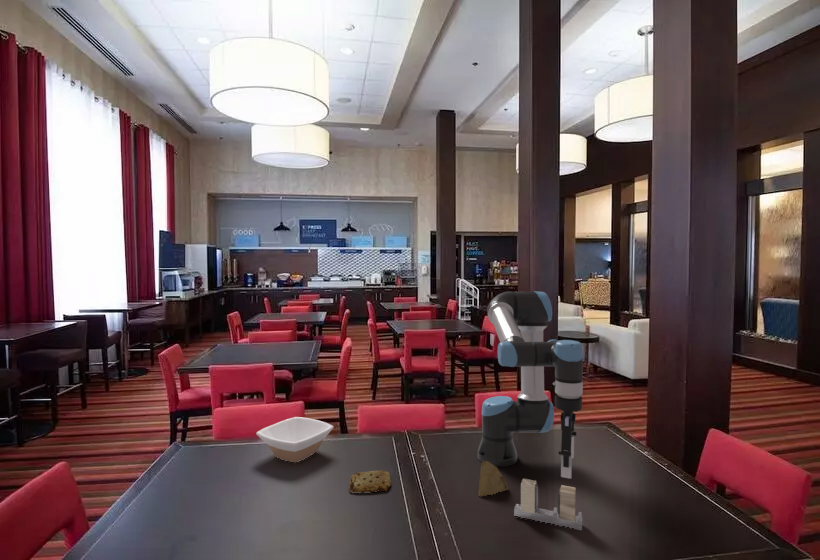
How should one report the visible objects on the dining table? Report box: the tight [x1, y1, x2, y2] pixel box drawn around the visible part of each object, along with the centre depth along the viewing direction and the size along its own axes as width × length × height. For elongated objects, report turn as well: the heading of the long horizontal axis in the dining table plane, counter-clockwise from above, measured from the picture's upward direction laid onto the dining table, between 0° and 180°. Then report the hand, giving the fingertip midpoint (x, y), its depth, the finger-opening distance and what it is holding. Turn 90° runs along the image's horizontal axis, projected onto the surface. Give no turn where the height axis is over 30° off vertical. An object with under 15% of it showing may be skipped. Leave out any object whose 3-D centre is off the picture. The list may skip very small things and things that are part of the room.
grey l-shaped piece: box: [513, 478, 583, 531], centre depth 135 cm, size 19×4×10 cm, turn 68°
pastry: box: [348, 470, 392, 492], centre depth 159 cm, size 17×17×3 cm
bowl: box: [256, 416, 334, 462], centre depth 182 cm, size 24×25×11 cm
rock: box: [477, 461, 509, 498], centre depth 152 cm, size 11×9×10 cm
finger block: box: [557, 484, 577, 521], centre depth 133 cm, size 4×4×8 cm
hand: (567, 466), depth 133 cm, fingers open, 13 cm apart
